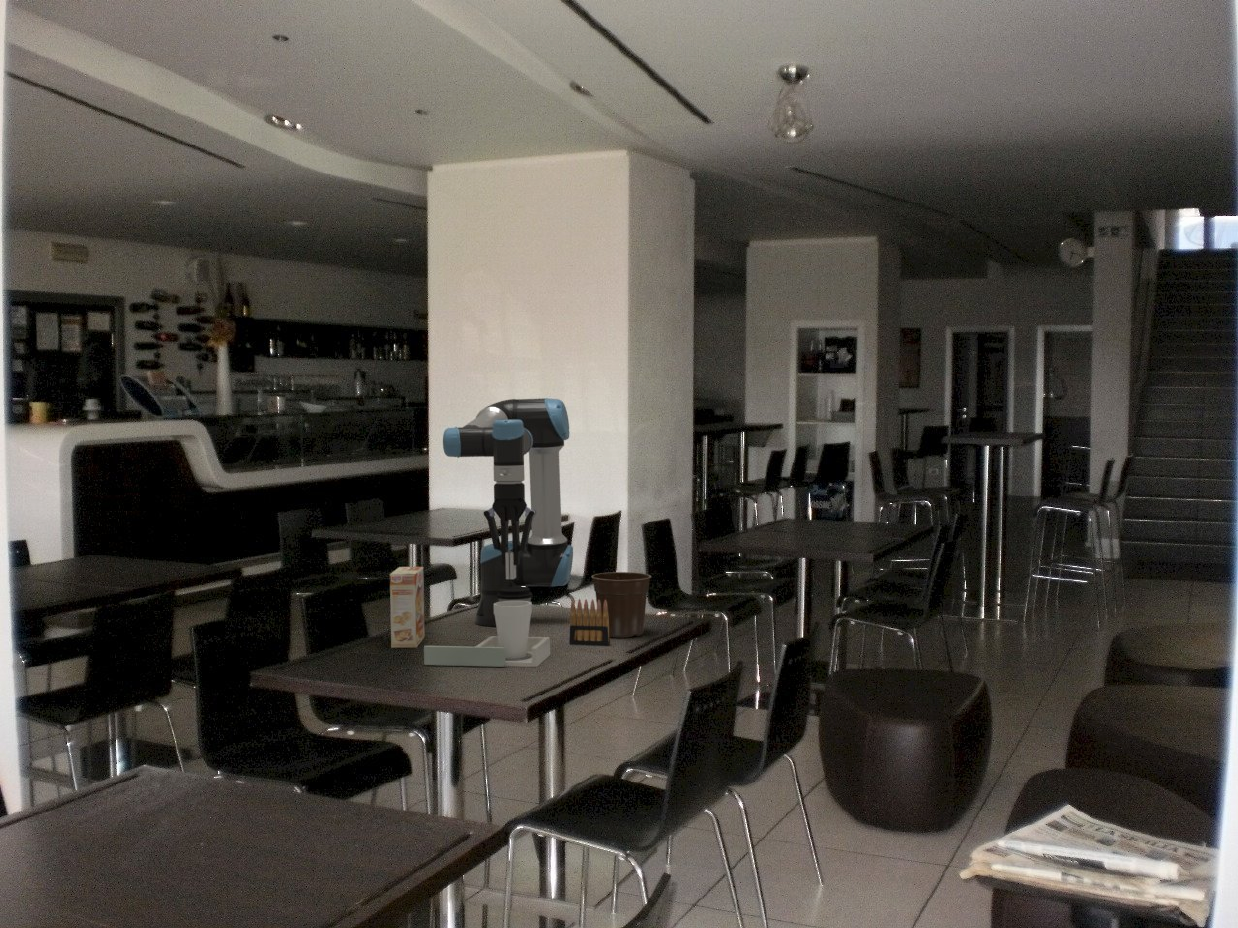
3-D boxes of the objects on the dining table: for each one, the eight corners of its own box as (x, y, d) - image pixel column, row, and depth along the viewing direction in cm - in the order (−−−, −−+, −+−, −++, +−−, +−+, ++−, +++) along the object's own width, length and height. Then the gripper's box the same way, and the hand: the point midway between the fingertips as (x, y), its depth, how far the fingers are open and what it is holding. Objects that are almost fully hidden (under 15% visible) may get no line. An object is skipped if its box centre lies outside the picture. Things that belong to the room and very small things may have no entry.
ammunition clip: (610, 644, 323) (609, 599, 323) (608, 646, 321) (608, 600, 321) (571, 643, 326) (570, 598, 325) (569, 644, 324) (568, 599, 324)
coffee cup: (536, 642, 327) (535, 586, 326) (530, 649, 318) (529, 591, 317) (501, 642, 328) (500, 586, 327) (494, 649, 319) (493, 591, 318)
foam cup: (498, 660, 299) (496, 607, 298) (491, 653, 308) (490, 601, 307) (536, 658, 301) (535, 605, 301) (528, 651, 310) (527, 599, 310)
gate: (425, 663, 301) (425, 645, 301) (505, 665, 298) (505, 647, 298) (424, 664, 300) (423, 646, 300) (504, 666, 297) (503, 648, 297)
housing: (491, 653, 314) (490, 636, 313) (550, 654, 311) (549, 637, 311) (474, 665, 300) (474, 647, 299) (536, 666, 297) (536, 648, 297)
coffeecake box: (417, 647, 323) (415, 573, 322) (390, 648, 323) (388, 573, 322) (425, 636, 338) (424, 565, 337) (399, 637, 338) (398, 566, 337)
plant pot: (649, 628, 346) (649, 570, 345) (654, 639, 330) (653, 579, 329) (591, 629, 345) (590, 572, 344) (593, 640, 329) (592, 580, 328)
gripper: (478, 483, 300) (480, 580, 301) (532, 483, 298) (533, 580, 299) (486, 481, 307) (488, 575, 308) (539, 481, 305) (541, 576, 306)
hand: (511, 578), depth 304 cm, fingers closed
